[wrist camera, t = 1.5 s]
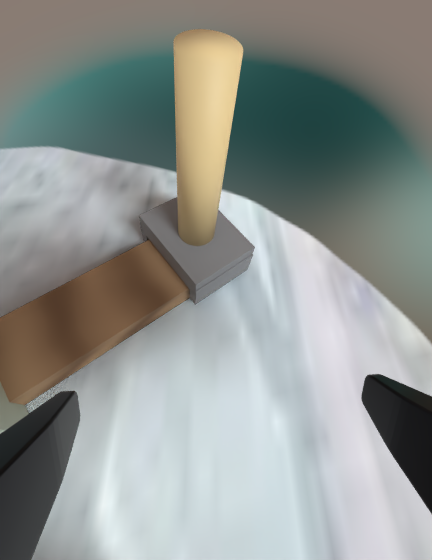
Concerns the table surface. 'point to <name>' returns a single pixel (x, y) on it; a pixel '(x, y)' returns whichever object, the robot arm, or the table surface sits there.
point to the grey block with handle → (201, 167)
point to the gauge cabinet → (9, 411)
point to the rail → (84, 320)
